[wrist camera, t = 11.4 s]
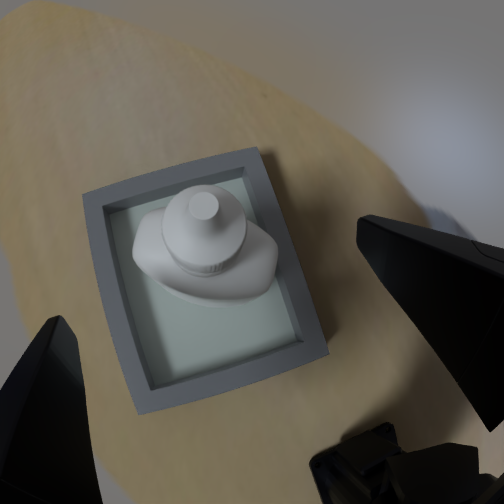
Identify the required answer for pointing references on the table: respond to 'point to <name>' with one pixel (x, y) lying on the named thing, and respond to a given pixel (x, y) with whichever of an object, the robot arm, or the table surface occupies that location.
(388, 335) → the table surface
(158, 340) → the gray rectangular tray
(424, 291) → the robot arm
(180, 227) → the eye dropper bottle
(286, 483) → the table surface
